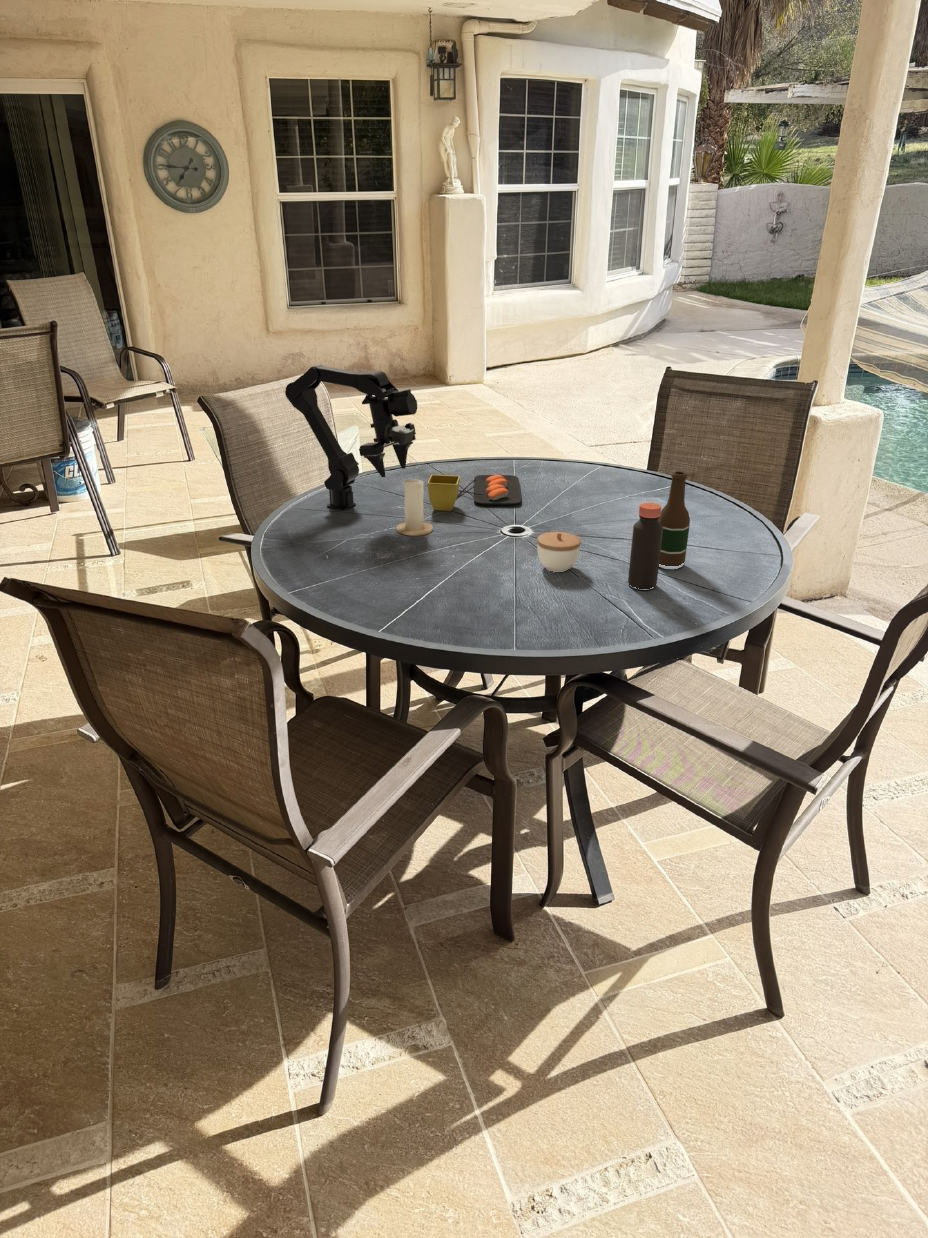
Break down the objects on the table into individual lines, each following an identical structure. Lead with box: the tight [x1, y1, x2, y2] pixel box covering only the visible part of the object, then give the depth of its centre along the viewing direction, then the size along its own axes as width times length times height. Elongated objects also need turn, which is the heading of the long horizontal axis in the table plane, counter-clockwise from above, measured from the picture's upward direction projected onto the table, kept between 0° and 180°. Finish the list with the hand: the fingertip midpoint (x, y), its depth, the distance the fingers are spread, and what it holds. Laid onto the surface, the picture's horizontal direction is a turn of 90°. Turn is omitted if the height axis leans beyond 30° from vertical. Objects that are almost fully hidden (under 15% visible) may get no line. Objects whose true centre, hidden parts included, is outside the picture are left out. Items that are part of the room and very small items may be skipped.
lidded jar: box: [536, 531, 582, 573], centre depth 215 cm, size 11×11×9 cm
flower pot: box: [427, 474, 461, 512], centre depth 256 cm, size 9×9×9 cm
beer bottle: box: [658, 471, 691, 566], centre depth 214 cm, size 8×8×24 cm
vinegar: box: [627, 502, 663, 589], centre depth 203 cm, size 7×7×20 cm
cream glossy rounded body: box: [403, 478, 425, 530], centre depth 238 cm, size 5×5×13 cm
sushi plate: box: [426, 474, 522, 505], centre depth 272 cm, size 29×30×4 cm
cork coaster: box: [396, 522, 434, 537], centre depth 241 cm, size 10×10×1 cm
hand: (393, 472), depth 247 cm, fingers open, 9 cm apart
